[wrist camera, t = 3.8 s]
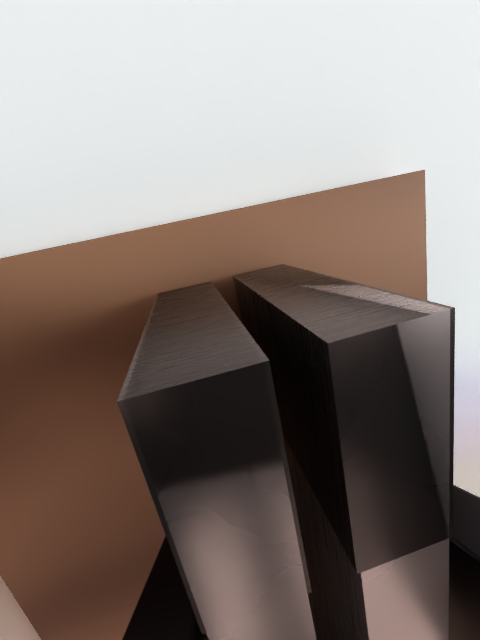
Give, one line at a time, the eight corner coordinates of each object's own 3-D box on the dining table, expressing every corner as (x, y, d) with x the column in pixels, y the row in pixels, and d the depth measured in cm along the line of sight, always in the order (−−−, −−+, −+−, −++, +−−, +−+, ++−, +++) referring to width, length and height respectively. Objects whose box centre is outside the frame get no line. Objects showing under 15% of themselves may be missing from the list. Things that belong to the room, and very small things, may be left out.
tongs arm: (310, 681, 12) (391, 955, 8) (264, 701, 12) (318, 998, 7) (224, 277, 7) (307, 350, 3) (142, 296, 7) (71, 414, 2)
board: (415, 634, 16) (434, 664, 15) (144, 750, 14) (141, 796, 13) (394, 178, 9) (425, 169, 8) (-123, 286, 7) (-178, 296, 6)
